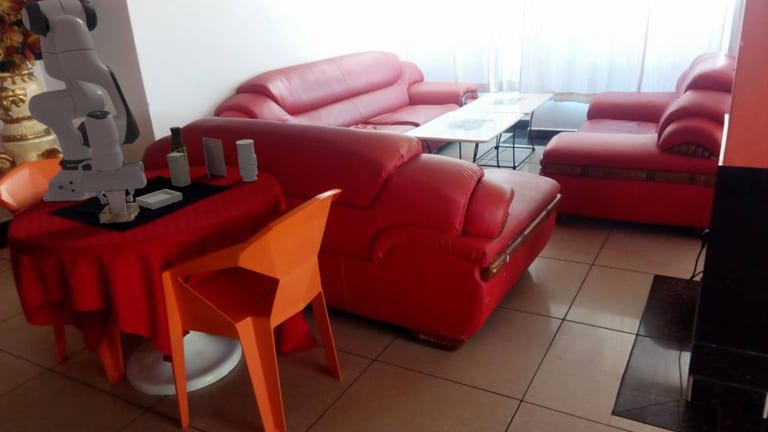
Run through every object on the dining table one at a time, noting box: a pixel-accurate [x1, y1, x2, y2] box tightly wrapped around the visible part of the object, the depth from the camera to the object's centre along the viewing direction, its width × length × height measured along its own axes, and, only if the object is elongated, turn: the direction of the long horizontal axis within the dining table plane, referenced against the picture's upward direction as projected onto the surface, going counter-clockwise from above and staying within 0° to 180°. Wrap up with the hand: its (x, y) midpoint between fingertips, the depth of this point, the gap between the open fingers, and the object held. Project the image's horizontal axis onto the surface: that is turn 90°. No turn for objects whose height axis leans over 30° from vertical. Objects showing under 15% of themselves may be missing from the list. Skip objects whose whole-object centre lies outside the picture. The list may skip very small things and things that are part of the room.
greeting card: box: [201, 136, 227, 179], centre depth 238 cm, size 11×7×15 cm, turn 21°
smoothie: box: [104, 189, 127, 213], centre depth 196 cm, size 6×6×14 cm
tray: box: [135, 188, 184, 210], centre depth 212 cm, size 12×10×2 cm
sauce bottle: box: [169, 126, 190, 171], centre depth 239 cm, size 6×6×20 cm
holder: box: [98, 202, 140, 225], centre depth 198 cm, size 10×10×3 cm
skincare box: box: [166, 153, 192, 188], centre depth 229 cm, size 6×4×12 cm
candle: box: [235, 139, 259, 182], centre depth 231 cm, size 7×7×15 cm
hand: (117, 202), depth 197 cm, fingers open, 7 cm apart
